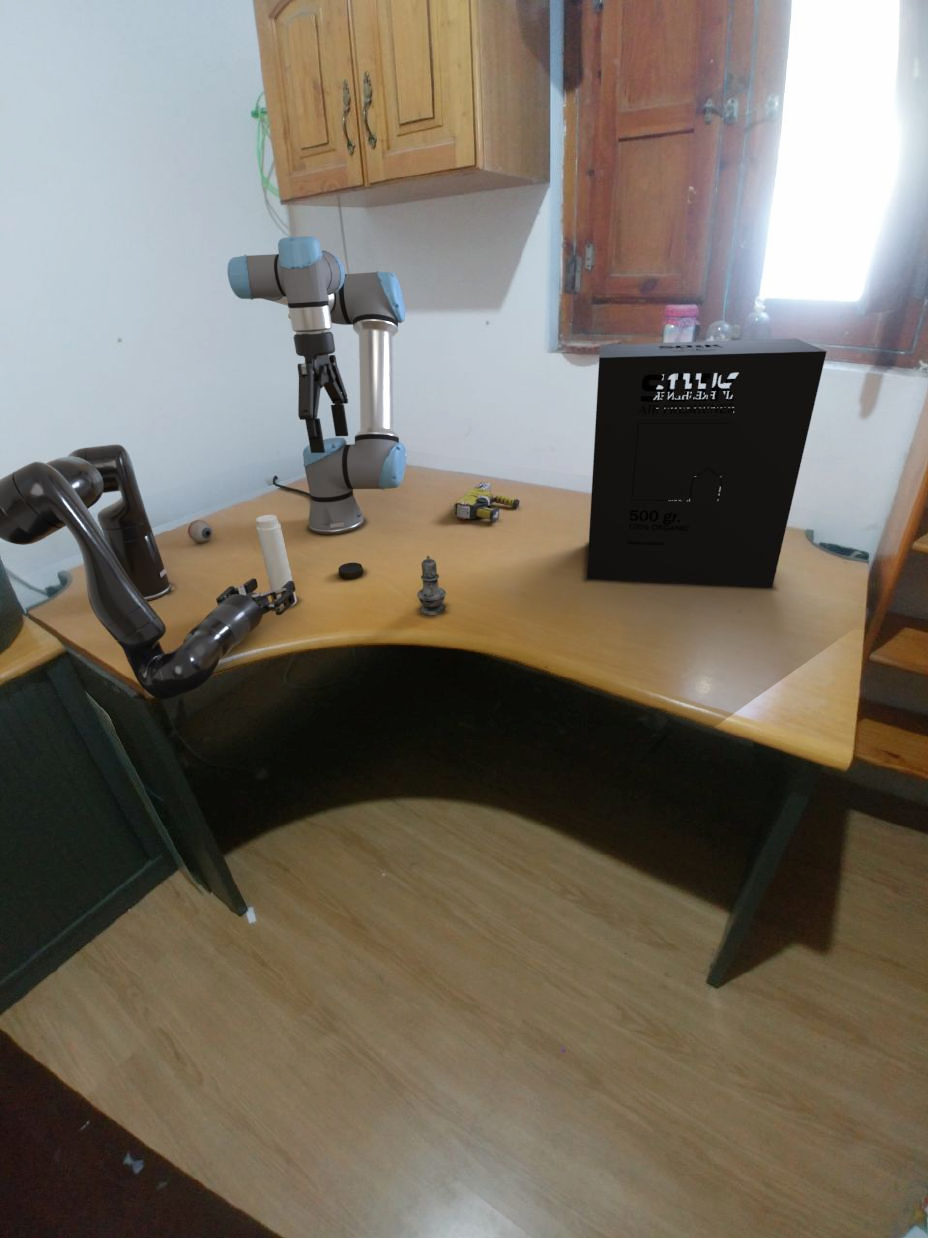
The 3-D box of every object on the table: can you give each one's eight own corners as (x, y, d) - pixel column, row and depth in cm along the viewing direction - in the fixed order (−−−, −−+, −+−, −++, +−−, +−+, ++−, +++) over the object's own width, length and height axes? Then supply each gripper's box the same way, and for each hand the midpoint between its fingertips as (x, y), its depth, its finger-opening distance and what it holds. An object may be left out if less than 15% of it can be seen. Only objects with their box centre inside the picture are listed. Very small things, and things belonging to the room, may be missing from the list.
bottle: (287, 595, 133) (268, 512, 124) (301, 600, 131) (283, 516, 121) (269, 604, 130) (249, 519, 120) (284, 610, 127) (264, 523, 118)
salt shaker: (443, 616, 121) (439, 562, 115) (415, 615, 122) (409, 561, 116) (449, 602, 126) (446, 549, 120) (422, 601, 127) (417, 548, 121)
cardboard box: (752, 548, 142) (795, 338, 119) (772, 587, 124) (826, 351, 102) (589, 543, 149) (600, 344, 127) (586, 579, 132) (599, 357, 110)
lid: (350, 582, 137) (349, 574, 137) (334, 576, 141) (332, 569, 140) (368, 572, 141) (367, 565, 140) (351, 567, 144) (350, 560, 143)
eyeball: (201, 547, 160) (195, 526, 157) (186, 543, 163) (180, 522, 160) (220, 539, 164) (214, 518, 161) (205, 536, 167) (199, 515, 164)
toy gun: (527, 487, 180) (480, 479, 184) (505, 511, 160) (452, 502, 164) (526, 502, 182) (479, 494, 186) (504, 527, 162) (452, 519, 166)
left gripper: (260, 607, 108) (301, 568, 121) (191, 602, 111) (239, 565, 125) (269, 642, 112) (308, 601, 125) (202, 636, 115) (247, 597, 128)
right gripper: (319, 326, 127) (335, 429, 137) (264, 339, 106) (288, 460, 116) (353, 325, 125) (366, 429, 136) (304, 337, 104) (325, 460, 115)
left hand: (273, 583), depth 125 cm, fingers open, 8 cm apart
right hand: (330, 443), depth 126 cm, fingers open, 13 cm apart
